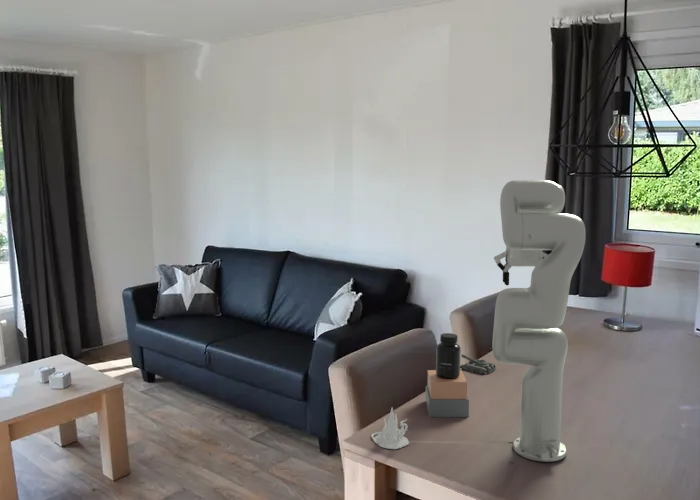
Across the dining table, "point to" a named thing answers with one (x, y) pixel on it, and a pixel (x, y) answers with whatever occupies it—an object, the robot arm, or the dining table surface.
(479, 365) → the tank toy
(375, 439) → the tentacle sculpture
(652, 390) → the dining table surface
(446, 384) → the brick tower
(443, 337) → the supplement bottle
